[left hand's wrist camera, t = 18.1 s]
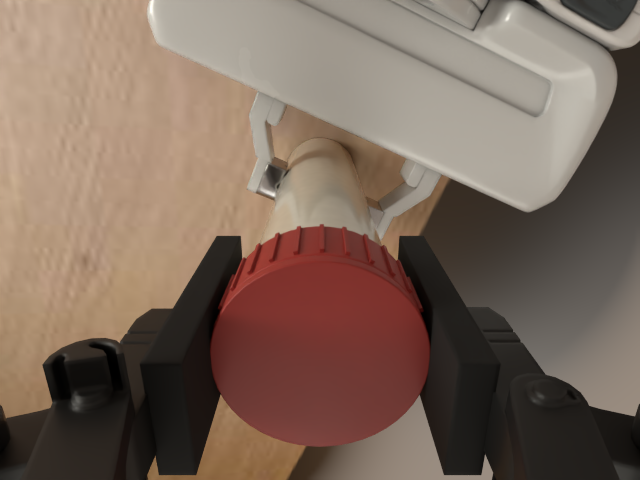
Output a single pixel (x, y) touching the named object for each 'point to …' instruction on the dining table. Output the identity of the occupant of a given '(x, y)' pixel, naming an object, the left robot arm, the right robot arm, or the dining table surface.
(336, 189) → the cream slim bottle
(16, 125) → the dining table surface
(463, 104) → the right robot arm
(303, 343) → the lid
